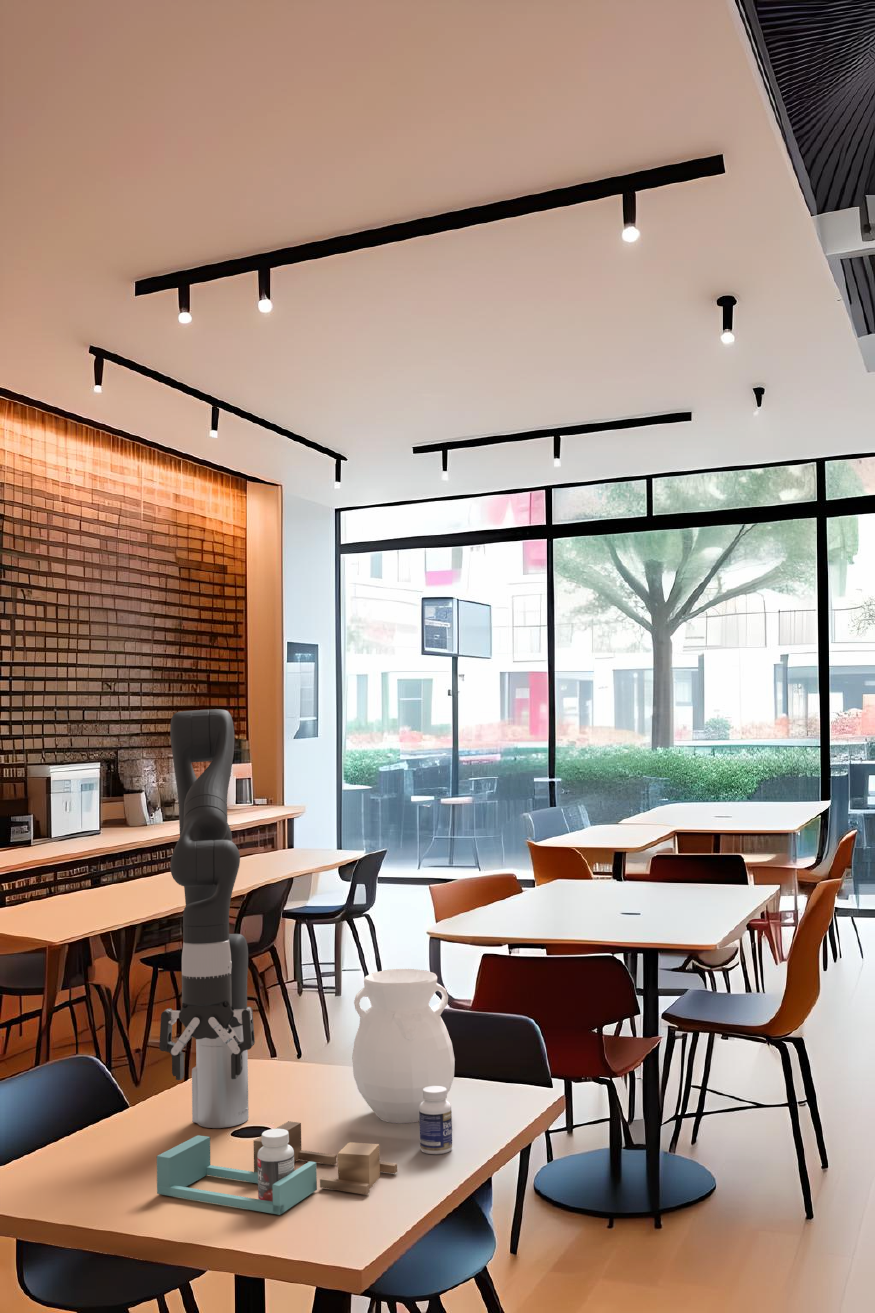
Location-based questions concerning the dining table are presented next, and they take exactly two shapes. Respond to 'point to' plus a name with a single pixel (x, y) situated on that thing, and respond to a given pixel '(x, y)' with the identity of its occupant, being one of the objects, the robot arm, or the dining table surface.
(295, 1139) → the walnut lane broken
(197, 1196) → the frame
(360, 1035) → the white vase
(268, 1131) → the pill bottle
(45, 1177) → the dining table surface
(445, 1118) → the pill bottle
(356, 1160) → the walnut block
